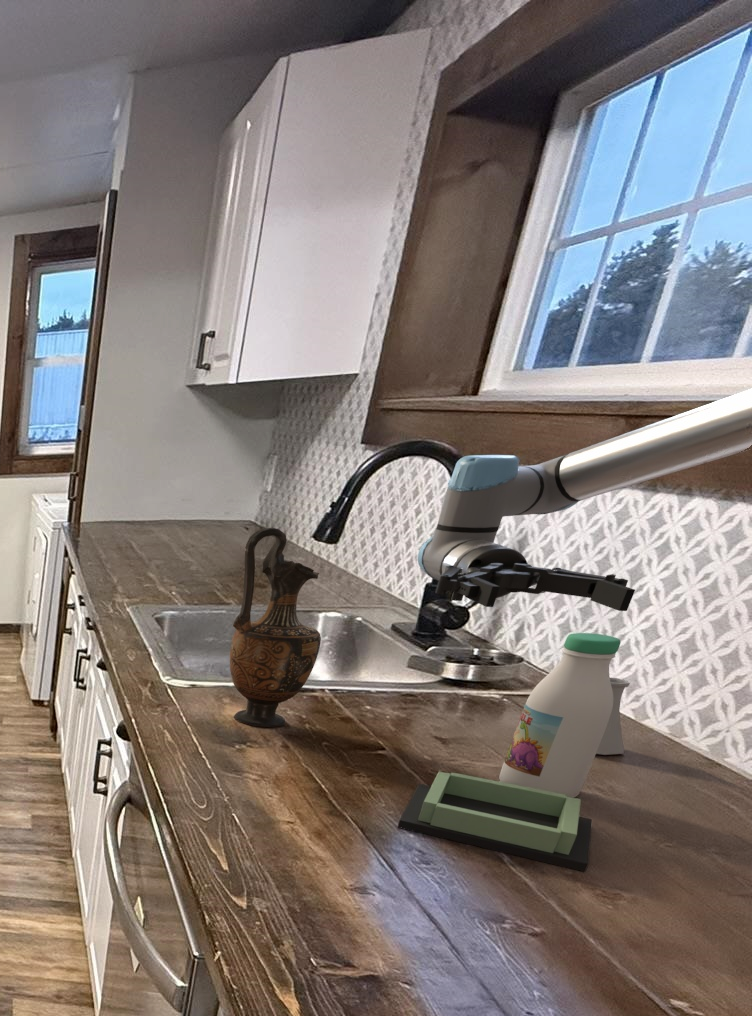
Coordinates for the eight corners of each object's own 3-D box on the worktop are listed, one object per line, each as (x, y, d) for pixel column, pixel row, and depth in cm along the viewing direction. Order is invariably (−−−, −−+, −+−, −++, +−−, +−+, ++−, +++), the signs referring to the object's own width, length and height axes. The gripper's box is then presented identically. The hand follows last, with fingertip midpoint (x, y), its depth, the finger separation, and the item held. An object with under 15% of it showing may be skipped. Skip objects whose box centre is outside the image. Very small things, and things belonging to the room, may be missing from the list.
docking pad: (589, 826, 96) (600, 799, 95) (584, 872, 87) (597, 842, 86) (416, 790, 107) (424, 765, 105) (397, 827, 98) (405, 800, 96)
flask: (572, 755, 115) (599, 687, 111) (539, 737, 121) (563, 672, 118) (636, 758, 113) (665, 688, 109) (599, 739, 120) (625, 673, 116)
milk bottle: (569, 782, 107) (629, 632, 99) (586, 805, 101) (651, 647, 93) (491, 772, 111) (543, 626, 103) (503, 794, 105) (559, 640, 97)
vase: (311, 734, 126) (361, 533, 114) (219, 728, 130) (259, 533, 118) (288, 710, 136) (333, 523, 125) (204, 705, 140) (240, 523, 128)
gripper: (580, 597, 121) (674, 631, 103) (378, 592, 129) (431, 622, 111) (599, 545, 118) (699, 571, 100) (391, 543, 126) (448, 566, 108)
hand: (558, 598), depth 106 cm, fingers open, 13 cm apart
